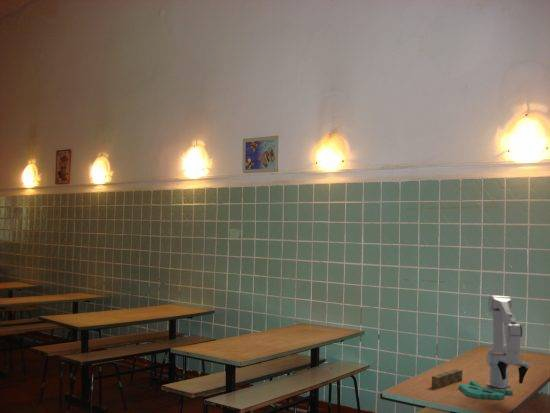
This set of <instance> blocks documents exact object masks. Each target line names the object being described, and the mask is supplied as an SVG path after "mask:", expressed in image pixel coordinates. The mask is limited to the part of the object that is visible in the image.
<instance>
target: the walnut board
mask: <svg viewBox="0 0 550 413" xmlns="http://www.w3.org/2000/svg"><path fill="white" fill-rule="evenodd" d="M461 381H463V369H460V368H456V369H451V370H450V371H445V372H442V373H438V374H435V375H432V376H431V388H434V389H440V388H443V387H446V386H449V385H451V384H456V383H458V382H461Z"/></svg>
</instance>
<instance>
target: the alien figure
mask: <svg viewBox="0 0 550 413" xmlns="http://www.w3.org/2000/svg"><path fill="white" fill-rule="evenodd" d="M458 390H460V391H461V392H462V393H463V394H464V395H465V396H468V397H471V398H475V399H479V400H480V399H485V400H488V399H490V400H503V399H505V398H506V397H505V396H506V395H509V396H512V395H513V394H514V392H513V391H514V390H511V389H509V388H508V389H504V388H502V389H501V388H497V389H496V388H493V389H491V388H488V387H484V386H482V385H481V384H479V383H478V382H477V381H475V380H470V381H469V384H466V383H461V384H459V385H458Z"/></svg>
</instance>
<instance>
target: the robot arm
mask: <svg viewBox="0 0 550 413" xmlns="http://www.w3.org/2000/svg"><path fill="white" fill-rule="evenodd" d="M487 303H488V306H487V307H488V308H487V309H488V312H489V313H491V315H492V343H493V346H492V347H490V348H489V349H488V350H487V352H486V353H487V355H486V363H487V365H488V367H489V382H487V383H486V384H485V385H486V386H489V387H493V388H497V389H504V388H507V387H510V386H511V384H510V383H509V377H510V376H509V375H510V374H509V370H508V368H509V367H510V365H511V366H516V367H518V369H517V370H518V384H521V385H522V384H523V383H524V382H523V381H524V378H525V376H526V373H527V372H528V370H529V369H531V363H529V362H526V361H521V338H522V337H523V326H522V324H521V323H519V322H518V321H517V318H516V315H515V314H513V313H512V310H511V308H512V305H513V300H512V297H511V296H509V295H492V294H490V296H489V295H488V302H487ZM504 335H505V340H506V342H505V345H506V347H504Z"/></svg>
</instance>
